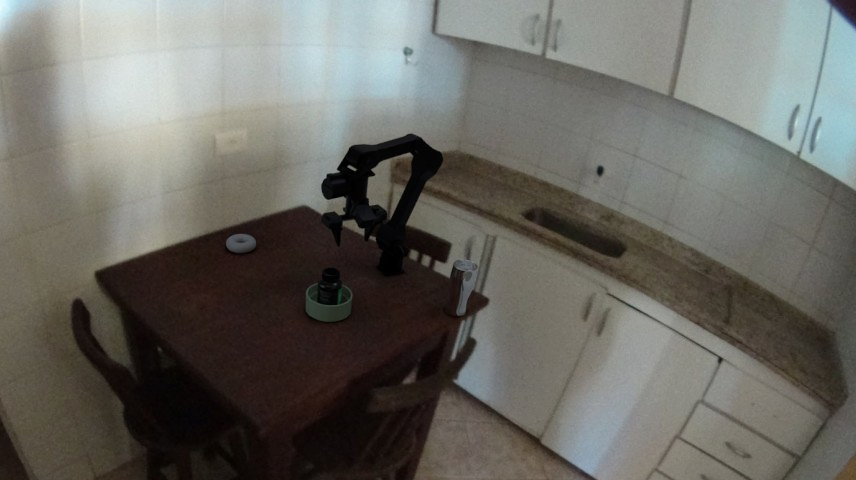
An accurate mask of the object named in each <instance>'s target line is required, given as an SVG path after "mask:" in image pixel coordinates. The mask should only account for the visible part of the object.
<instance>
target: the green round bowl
mask: <svg viewBox="0 0 856 480" xmlns="http://www.w3.org/2000/svg"><path fill="white" fill-rule="evenodd" d="M317 291H318V282H317V283H314V284H311V285H310V286H309V287H308V288H307V289H306V291H305V300H304V302H305V303H304V304H305V305H304V309H305V312H306V313H307V315H308V316H309V317H312V318H313V319H315V320H317V321H321V322H324V323H325V322H326V323H327V322H328V323H334V322H339V321H343V320H344V319H346V318H348V317H349V316H350V315H351V313H352V310H353V309H352V307H353V299H354V298H353V296H354V294H353V292H352V290H351V289H350V288H349V287H348V286H346V285H345V284H343V286H342V298H341V304H339V305H322V304H319V303H317Z"/></svg>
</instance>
